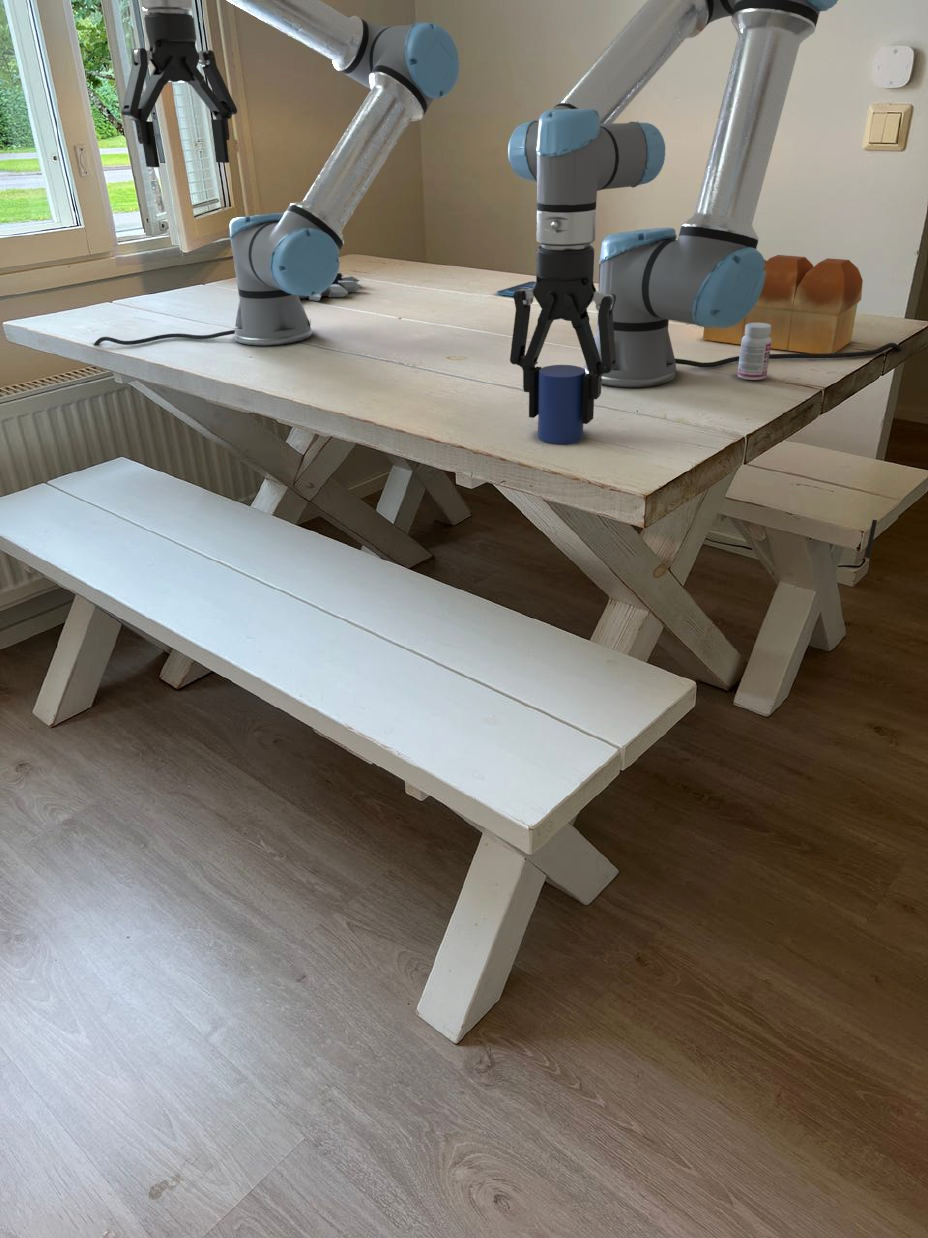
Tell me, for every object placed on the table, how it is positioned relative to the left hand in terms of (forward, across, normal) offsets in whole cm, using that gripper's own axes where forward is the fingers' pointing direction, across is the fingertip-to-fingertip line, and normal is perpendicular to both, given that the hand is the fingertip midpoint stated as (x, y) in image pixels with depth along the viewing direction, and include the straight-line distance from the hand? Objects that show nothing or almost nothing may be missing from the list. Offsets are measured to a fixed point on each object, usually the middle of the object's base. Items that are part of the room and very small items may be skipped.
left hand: (188, 164), depth 157 cm
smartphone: (+31, +86, -5) cm, 92 cm away
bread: (+31, +74, -74) cm, 109 cm away
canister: (+33, +6, -73) cm, 81 cm away
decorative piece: (+32, +54, +40) cm, 75 cm away
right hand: (+30, +6, -73) cm, 80 cm away
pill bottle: (+32, +50, -81) cm, 100 cm away
